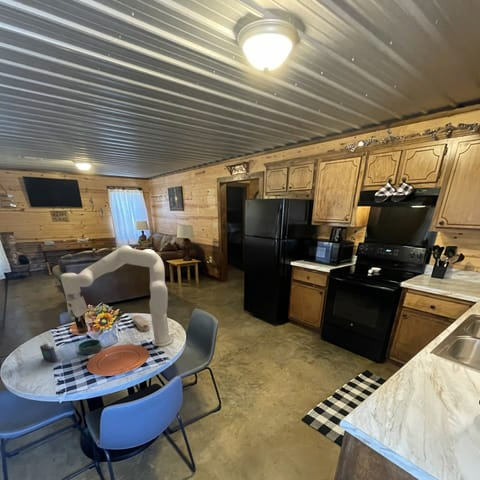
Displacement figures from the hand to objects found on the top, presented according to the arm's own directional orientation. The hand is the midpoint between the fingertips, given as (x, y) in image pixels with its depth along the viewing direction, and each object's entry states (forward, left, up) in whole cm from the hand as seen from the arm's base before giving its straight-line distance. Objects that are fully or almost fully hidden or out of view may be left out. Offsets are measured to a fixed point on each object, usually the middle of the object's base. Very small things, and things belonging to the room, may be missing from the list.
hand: (81, 325), depth 151 cm
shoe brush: (-45, -8, -16) cm, 49 cm away
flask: (+15, -13, -19) cm, 28 cm away
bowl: (-4, -4, -19) cm, 20 cm away
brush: (0, 0, -4) cm, 4 cm away
